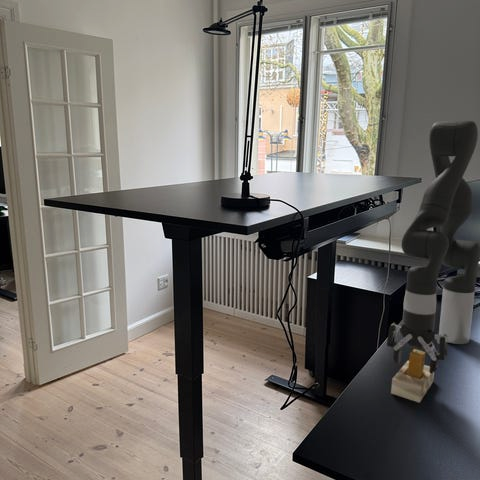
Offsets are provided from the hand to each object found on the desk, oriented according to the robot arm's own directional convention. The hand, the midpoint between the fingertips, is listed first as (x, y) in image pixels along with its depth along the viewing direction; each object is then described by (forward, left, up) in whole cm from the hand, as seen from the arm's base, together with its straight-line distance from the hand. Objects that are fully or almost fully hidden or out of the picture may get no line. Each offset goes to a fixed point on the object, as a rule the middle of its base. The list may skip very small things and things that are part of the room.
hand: (414, 367), depth 114 cm
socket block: (0, 0, -6) cm, 6 cm away
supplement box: (0, 0, -6) cm, 6 cm away
